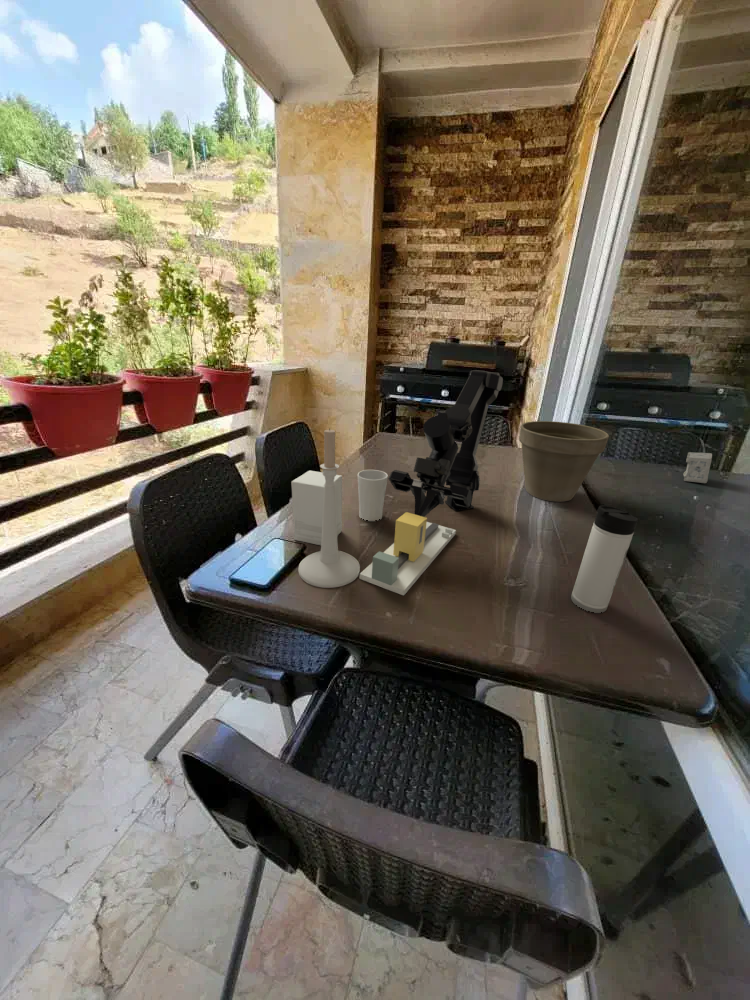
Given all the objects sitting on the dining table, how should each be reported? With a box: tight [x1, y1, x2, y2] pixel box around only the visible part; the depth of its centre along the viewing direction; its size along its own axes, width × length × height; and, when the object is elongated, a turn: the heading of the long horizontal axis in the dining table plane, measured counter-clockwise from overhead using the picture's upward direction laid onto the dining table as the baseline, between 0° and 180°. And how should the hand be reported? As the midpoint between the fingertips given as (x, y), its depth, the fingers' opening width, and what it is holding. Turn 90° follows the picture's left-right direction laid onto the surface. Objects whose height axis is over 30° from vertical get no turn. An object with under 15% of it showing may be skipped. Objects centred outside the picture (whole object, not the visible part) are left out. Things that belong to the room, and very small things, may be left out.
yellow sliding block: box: [393, 511, 428, 562], centre depth 84 cm, size 5×5×8 cm
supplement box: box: [290, 470, 343, 546], centre depth 92 cm, size 9×9×15 cm
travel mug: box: [570, 505, 639, 614], centre depth 71 cm, size 6×7×20 cm
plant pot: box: [518, 420, 610, 503], centre depth 124 cm, size 25×25×22 cm
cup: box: [357, 469, 389, 522], centre depth 104 cm, size 8×8×12 cm
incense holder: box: [682, 451, 713, 484], centre depth 147 cm, size 10×8×10 cm
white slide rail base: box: [359, 521, 457, 596], centre depth 88 cm, size 30×10×6 cm, turn 150°
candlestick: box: [297, 427, 361, 589], centre depth 76 cm, size 13×13×30 cm
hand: (416, 521), depth 86 cm, fingers closed, pressing on yellow sliding block
